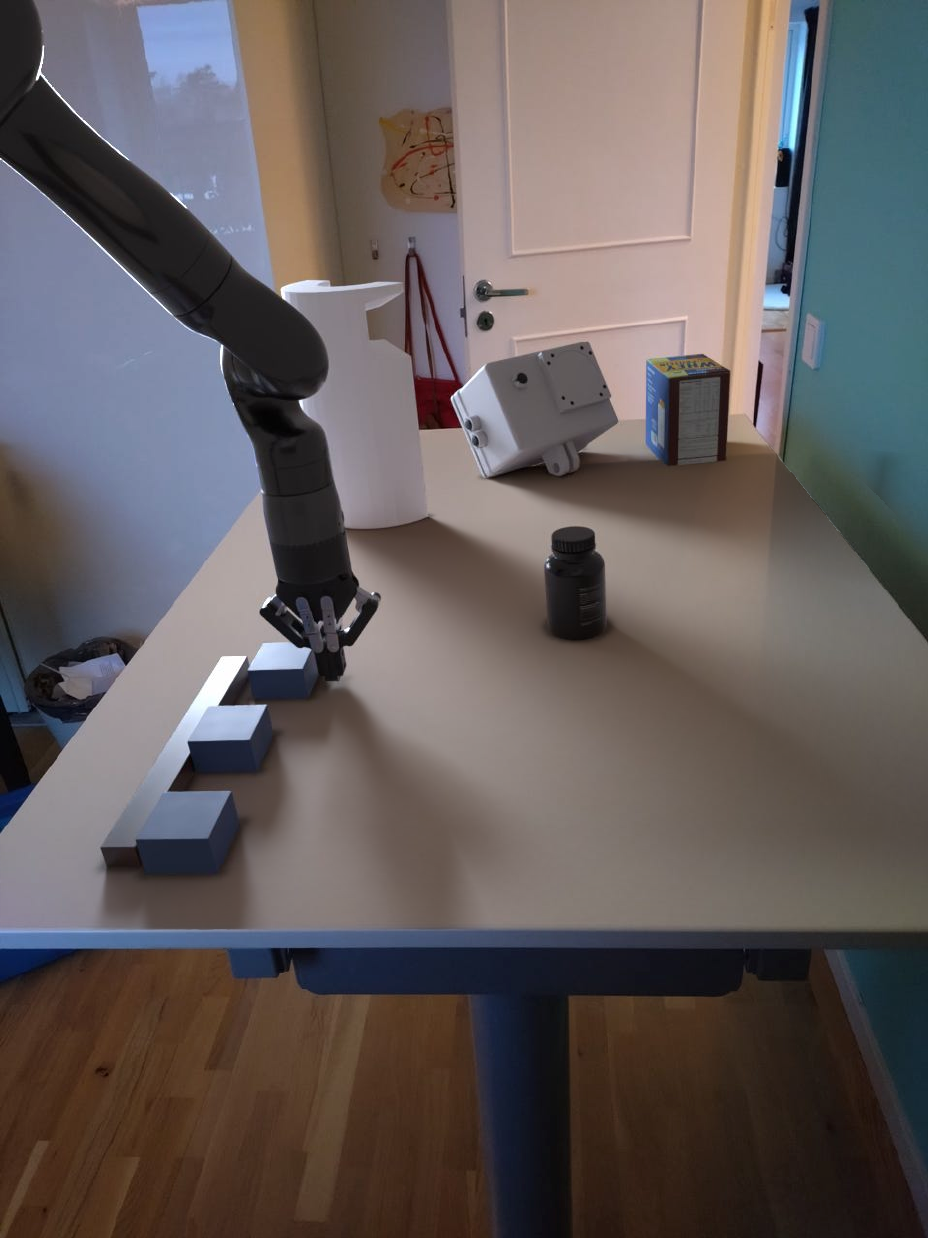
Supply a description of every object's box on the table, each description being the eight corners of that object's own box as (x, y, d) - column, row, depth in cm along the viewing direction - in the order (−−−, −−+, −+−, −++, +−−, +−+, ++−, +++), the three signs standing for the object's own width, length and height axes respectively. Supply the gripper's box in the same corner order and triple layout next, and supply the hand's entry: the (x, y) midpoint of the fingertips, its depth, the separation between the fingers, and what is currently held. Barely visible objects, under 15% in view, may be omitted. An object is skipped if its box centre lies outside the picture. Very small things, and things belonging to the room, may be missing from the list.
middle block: (196, 776, 84) (186, 741, 82) (216, 739, 89) (208, 706, 88) (258, 775, 84) (249, 740, 82) (275, 738, 89) (267, 704, 87)
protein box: (700, 438, 166) (703, 352, 159) (726, 462, 152) (732, 370, 145) (644, 443, 166) (645, 358, 159) (665, 468, 152) (667, 376, 145)
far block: (254, 703, 95) (246, 670, 93) (269, 674, 100) (263, 642, 99) (309, 701, 94) (302, 668, 93) (321, 672, 100) (316, 641, 98)
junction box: (527, 478, 140) (474, 349, 141) (484, 508, 154) (436, 390, 154) (638, 443, 152) (589, 324, 152) (590, 474, 165) (544, 364, 166)
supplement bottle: (605, 615, 106) (603, 520, 101) (608, 643, 100) (607, 544, 95) (547, 617, 107) (542, 523, 102) (546, 645, 101) (542, 546, 96)
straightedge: (107, 871, 73) (99, 847, 72) (226, 676, 101) (221, 656, 100) (142, 871, 73) (135, 847, 72) (251, 675, 101) (247, 655, 99)
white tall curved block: (344, 495, 154) (432, 517, 141) (292, 516, 146) (379, 541, 133) (311, 279, 138) (407, 281, 125) (251, 290, 131) (346, 294, 117)
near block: (147, 878, 72) (134, 839, 71) (174, 828, 78) (163, 791, 76) (218, 877, 72) (208, 839, 70) (241, 827, 77) (231, 790, 75)
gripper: (229, 546, 86) (265, 699, 94) (364, 538, 84) (389, 694, 92) (252, 517, 92) (283, 662, 100) (378, 510, 91) (399, 657, 99)
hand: (334, 677), depth 96 cm, fingers closed
